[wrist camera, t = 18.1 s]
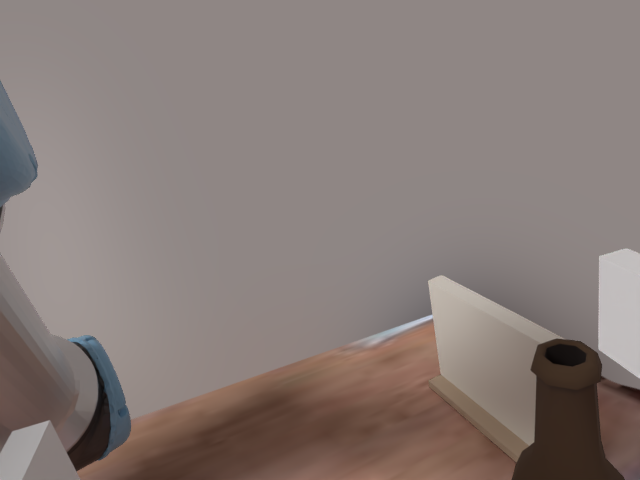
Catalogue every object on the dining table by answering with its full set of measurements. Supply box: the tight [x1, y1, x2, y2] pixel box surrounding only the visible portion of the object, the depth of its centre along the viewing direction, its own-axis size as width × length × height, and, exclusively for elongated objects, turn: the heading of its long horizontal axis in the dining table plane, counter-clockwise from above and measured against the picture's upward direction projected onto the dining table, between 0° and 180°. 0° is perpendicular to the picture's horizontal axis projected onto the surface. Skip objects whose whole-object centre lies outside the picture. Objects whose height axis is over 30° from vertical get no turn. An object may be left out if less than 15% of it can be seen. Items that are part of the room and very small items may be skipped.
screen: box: [428, 275, 565, 463], centre depth 53 cm, size 20×6×15 cm, turn 24°
